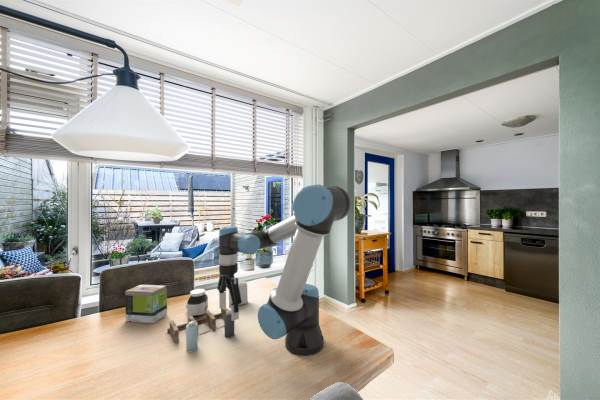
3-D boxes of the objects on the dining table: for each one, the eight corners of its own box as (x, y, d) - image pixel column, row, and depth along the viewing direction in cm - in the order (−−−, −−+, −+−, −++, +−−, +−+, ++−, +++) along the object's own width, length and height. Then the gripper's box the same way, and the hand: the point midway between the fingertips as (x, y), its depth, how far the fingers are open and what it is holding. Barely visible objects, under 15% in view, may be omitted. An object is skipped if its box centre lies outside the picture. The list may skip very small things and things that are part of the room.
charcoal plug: (235, 335, 105) (235, 311, 105) (226, 338, 102) (226, 314, 102) (232, 331, 108) (231, 308, 108) (223, 334, 106) (222, 311, 105)
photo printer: (230, 308, 130) (230, 285, 130) (227, 305, 134) (227, 282, 134) (248, 303, 137) (248, 280, 137) (245, 300, 140) (245, 279, 140)
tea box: (167, 314, 125) (167, 284, 125) (152, 324, 115) (152, 292, 115) (141, 312, 127) (141, 283, 127) (124, 322, 118) (124, 290, 117)
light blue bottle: (199, 348, 96) (198, 323, 96) (187, 353, 93) (187, 326, 93) (196, 344, 99) (195, 319, 99) (185, 348, 96) (184, 322, 96)
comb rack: (233, 323, 115) (233, 312, 115) (172, 343, 99) (172, 331, 99) (224, 314, 123) (224, 304, 123) (167, 332, 108) (167, 320, 108)
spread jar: (199, 319, 119) (198, 295, 119) (177, 318, 121) (177, 294, 120) (212, 308, 130) (212, 286, 130) (192, 307, 132) (192, 285, 132)
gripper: (250, 268, 97) (250, 322, 98) (225, 256, 117) (226, 300, 118) (231, 272, 93) (231, 328, 93) (209, 258, 113) (209, 305, 113)
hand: (228, 313), depth 105 cm, fingers open, 13 cm apart
